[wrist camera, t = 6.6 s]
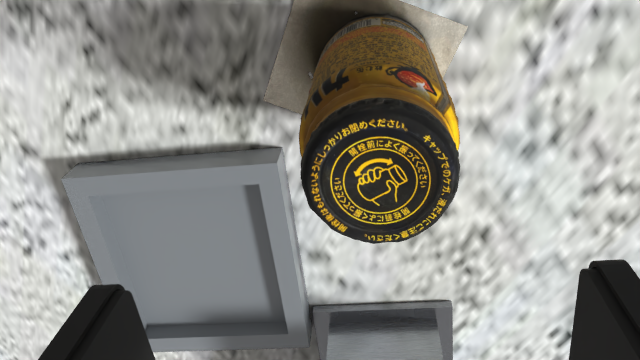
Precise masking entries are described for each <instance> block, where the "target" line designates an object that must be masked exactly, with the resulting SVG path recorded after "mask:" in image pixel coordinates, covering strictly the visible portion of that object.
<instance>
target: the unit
mask: <svg viewBox="0 0 640 360" xmlns="http://www.w3.org/2000/svg"><path fill="white" fill-rule="evenodd" d="M313 318H314V324H315V330H316V336H317V342H318V348H319V354H320V360H453V336H452V303H451V301H432V302H407V303H382V304H356V305H331V306H313Z"/></svg>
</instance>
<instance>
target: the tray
mask: <svg viewBox="0 0 640 360" xmlns="http://www.w3.org/2000/svg"><path fill="white" fill-rule="evenodd" d="M61 180H62V182H63V185H64V188H65V190H66V193H67V195H68V198H69V200H70V203H71V205H72V208H73V211H74V213H75V216H76V218H77V221H78V223H79V226H80V228H81V231H82V234H83V236H84V239H85V241H86V244H87V246H88V249H89V251H90V254H91V257H92V259H93V262H94V264H95V267H96V269H97V272H98V274H99V277H100V280H101V282H102V285H107V284H120V285H122V286H123V287H124V289H125V290H128V291H130V292H131V293H132V295H133V298H134V301H135V303H136V306H137V309H138V312H139V315H140V318H141V320H142V323H143V326H144V329H145V332H146V335H147V338H148V340H149V343H150V346H151V349H152V352H174V351H208V350H241V349H275V348H308V347H310V339H311V331H312V321H311V315H310V310H309V304H308V298H307V292H306V286H305V280H304V274H303V268H302V262H301V256H300V250H299V244H298V238H297V232H296V226H295V220H294V214H293V208H292V202H291V196H290V190H289V184H288V178H287V173H286V167H285V161H284V155H283V149H282V147H281V148H268V149H255V150H242V151H230V152H217V153H204V154H191V155H179V156H166V157H153V158H140V159H128V160H115V161H102V162H89V163H78V164H77V165H76V166H75V167H74V168H73V169H72V170H71V171H69V172H68V173H67V174H66V175H65V176H64V177H63V178H62V179H61Z"/></svg>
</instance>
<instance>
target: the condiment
mask: <svg viewBox="0 0 640 360" xmlns="http://www.w3.org/2000/svg"><path fill="white" fill-rule="evenodd" d="M355 12H357V14H355ZM467 28H468V27H467V26H464V25H462V24H459V23H457V22H454V21H452V20H449V19H446V18H444V17H441V16H439V15H436V14H434V13H431V12H428V11H425V10H423V9H420V8H418V7H415V6H413V5H410V4H407V3H404V2H402V1H399V0H294V2H293V6H292V9H291V12H290V15H289V18H288V22H287V25H286V28H285V32H284V35H283V38H282V41H281V44H280V48H279V51H278V54H277V57H276V61H275V64H274V67H273V70H272V73H271V77H270V80H269V83H268V86H267V89H266V93H265V96H264V99H263V101H266V102H269V103H272V104H274V105H276V106H279V107H282V108H286V109H289V110H291V111H293V112H296V113H299V114H302V117H301V125H300V132H299V144H300V153H301V156H302V160H301V180H302V186H303V189H304V192H305V195H306V197H307V201H308V204H309V207H310V208H311V209H312V210H313V211H314V212H315V213H316V214H317V215H318V216H319V217H320V218H321V219H322V220H323V221H324V222H325V223H326V224H327V225H328V226H329V227H330V228H331V229H332V230H334V231H336V232H338V233H340V234H342V235H345V236H347V237H350V238H352V239H355V240H360V241H363V242H369V243H373V244H375V243H383V242H401V241H404V240H407V239H409V238H412V237H414V236H416V235H418V234H420V233H421V232H423V231H424V230H426V229H428V228H429V227H431V226H432V225H433V224H434V223H436V222H437V221H438V219H439V218H440V217H441V216H442V214H443V213H444V212H445V210H446V209H447V208H448V206H449V204H450V203H451V202H452V200H453V198H454V196H455V193H456V192H457V188H458V181H459V171H460V164H459V159H458V157H459V153H458V148H459V144H460V135H459V128H458V118H457V116H456V114H455V108H454V104H453V102H452V98H451V97H450V95H449V94H448V91H447V87H446V83H445V82H444V81H443V77H444V75H445V73H446V71H447V69H448V66H449V65H450V63H451V61H452V59H453V57H454V55H455V53H456V51H457V49H458V47H459V45H460V43H461V40H462V38H463V36H464V34H465V32H466V30H467ZM309 72H311V73H312V75H313V79H311V78H310V77H309V75H308V74H309Z"/></svg>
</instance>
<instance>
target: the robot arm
mask: <svg viewBox="0 0 640 360" xmlns="http://www.w3.org/2000/svg"><path fill="white" fill-rule="evenodd" d="M38 360H155V357H154V355H153V352H152V349H151V346H150V343H149V340H148V338H147V335H146V332H145V329H144V326H143V323H142V320H141V318H140V315H139V312H138V309H137V306H136V303H135V301H134V298H133V295H132V293H131V292H130V291H128V290H125V289H124V287H123V286H122V285H120V284H107V285H94V286H92V287H91V288H90V289H89V290H88V291H87V293H86V294H85V296H84V297H83V298H82V300H81V301H80V302H79V304H78V305H77V307H76V308H75V309H74V311H73V312H72V313H71V315H70V316H69V318H68V319H67V320H66V322H65V323H64V324H63V326H62V327H61V329H60V330H59V331H58V333H57V334H56V335H55V337H54V338H53V340H52V341H51V342H50V344H49V345H48V347H47V348H46V349H45V351H44V352H43V353H42V355H41V356H40V358H39V359H38ZM569 360H640V279H639V277H638V276H637V275H636V273H635V272H634V271H633V269H632V268H631V266H630V265H629V264H628V263H627V262H626V261H625V260H603V261H592V262H591V263H590V265H589V269H582V270H581V271H580V275H579V283H578V291H577V299H576V307H575V315H574V323H573V331H572V339H571V347H570V355H569Z"/></svg>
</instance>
